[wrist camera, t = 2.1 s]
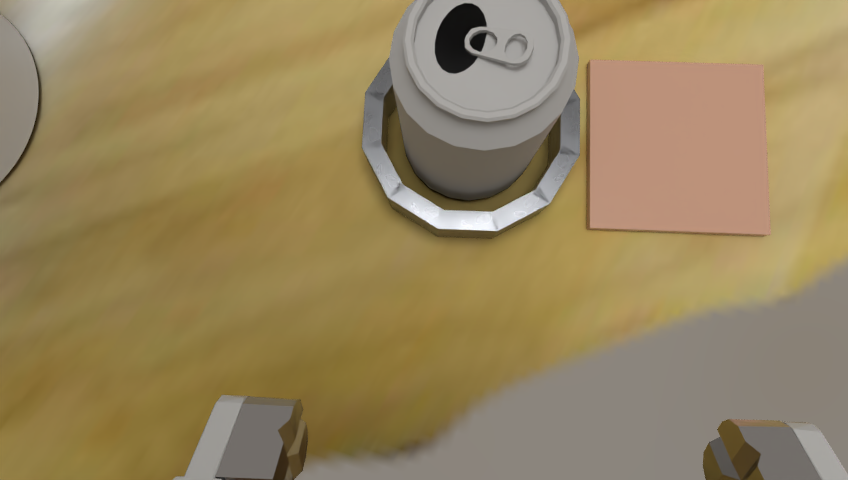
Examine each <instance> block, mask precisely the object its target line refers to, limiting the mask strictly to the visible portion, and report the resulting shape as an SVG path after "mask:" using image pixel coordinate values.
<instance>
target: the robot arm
mask: <svg viewBox="0 0 848 480" xmlns="http://www.w3.org/2000/svg"><path fill="white" fill-rule="evenodd" d="M38 97H39V88H38V77H37V72H36V67H35V64H34V60H33V57H32V55H31V52H30V50H29V48H28V46H27V44H26V42H25V41H24V39H23V37H22V36H21V35H20V33H19V32H18V31H17V29H16V28H15V27H14V26H13V25H12V24H11V23H10V22H9V21H8V20H7V19H6V18H5V17H3V16H2V15H1V14H0V182H1V181H2V180H3V179H4V178H5V176H6V175H7V174H8V173H9V172H10V170H11V169H12V168H13V166H14V165H15V164H16V162H17V161H18V159H19V158H20V156H21V154H22V152H23V151H24V149H25V147H26V145H27V143H28V140H29V138H30V135H31V133H32V130H33V127H34V123H35V119H36V114H37V109H38ZM302 411H303V407H302V404H301V400H300V399H283V398H266V397H250V396H234V395H222V396H221V397H220V398H219V399H218V401H217V402H216V403H215V405H214V408H213V410H212V412H211V415H210V417H209V419H208V422H207V424H206V426H205V429H204V431H203V434H202V436H201V438H200V441H199V443H198V445H197V448H196V450H195V452H194V455H193V457H192V459H191V462H190V464H189V466H188V469H187V471H186V473H185V476H176V477H175V478H174V479H173V480H294V479H295V478H296V477H297V476H298V475H299V474H300V473H301V472H302V471H303V467H304V462H305V458H306V451H307V442H308V435H307V426H306V423H305V422H304V421H303V420H302V419H301V415H302ZM717 430H718V432H719V434H720V437H719V438H717V439H715V440H713V441H711V442H709V444H708V445H707V447H706V449H705V451H704V457H703V469H704V474H705V478H706V480H848V474H847V473H846V471H845V469H844V468H843V466H842V464H841V463H840V461H839V460H838V458H837V456H836V455H835V453H834V452H833V450H832V449H831V447H830V445H829V444H828V442H827V441H826V439H825V437H824V436H823V434H822V433H821V432H820V430H819V429H818V428H817V427H816V426H815V425H813V424H811V423H806V422H781V421H772V420H770V421H769V420H739V419H738V420H737V419H728V420H726V421H723V422H722V423H721V425H720V426H719V427H718V429H717Z"/></svg>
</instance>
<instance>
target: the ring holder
mask: <svg viewBox="0 0 848 480" xmlns="http://www.w3.org/2000/svg"><path fill="white" fill-rule="evenodd" d="M396 106H397V104H396V99H395V94H394V89H393V83H392V76H391V70H390V63H389V58H388V60H387V61H386V63H385V64H384V66H383V67H382V68H381V70H380V71H379V73H378V74H377V76H376V77H375V79H374V80H373V82H372V83H371V85H370V86H369V88H368V89H367V91H366V92H365V108H364V124H363V141H362V149H363V151H364V153H365V155H366V157H367V160H368V162H369V164H370V166H371V167H372V169H373V171H374V173H375V175H376V177H377V179H378V181H379V183H380V185H381V187H382V188H383V190H384V192H385V194H386V196H387V198H388V200H389V202H390V204H391V206H392V208H393V209H394V210H396V211H398V212H399V213H401V214H402V215H404V216H406V217H407V218H409V219H411V220H412V221H414V222H415V223H417V224H419V225H420V226H422V227H423V228H425V229H427V230H428V231H430V232H431V233H433V234H435V235H436V236H438V237H462V238H488V239H492V238H494V237H495V236H497V235H499V234H501V233H503V232H505V231H507V230H509V229H511V228H513V227H515V226H516V225H518V224H520V223H522V222H524V221H526V220H528V219H530V218H532V217H534V216H536V215H537V214H539V213H540V212H541V211H542V210H543V209H544V208H546V207H547V206H548V205H549V204H550V202H551V201H552V199H553V197H554V196H555V194H556V192H557V191H558V189H559V188H560V186H561V184H562V183H563V181H564V179H565V178H566V176H567V175H568V173H569V171H570V170H571V168H572V166H573V165H574V163H575V162H576V160H577V158H578V157H579V155H580V99H579V97H578V95H577V94H576V92H575V90H573V92H572V94H571V96H570V98H569V100H568V102H567V104H566V106H565V108H564V110H563V112H562V113H561V115H560V116H559V118H558V119H557V121H556V122H555V124H554V126H553V127H552V129H551V130H550V132H549V149H548V166H547V168H546V169H545V171H544V173H543V174H542V176H541V178H540V179H539V181H538V182H537V184H536V186H535V187H534V189H533V190H532V192H530V193H528V194H526V195H524V196H522V197H520V198H518V199H516V200H514V201H513V202H511V203H509V204H507V205H505V206H503V207H501V208H499V209H497V210H495V211H493V212H485V211H458V210H443V209H442V208H440V207H438V206H437V205H435V204H433V203H432V202H430V201H429V200H427V199H425V198H424V197H422V196H421V195H419V194H417V193H416V192H414V191H412V190H411V189H409V188H408V187H406V186H404V185H403V184H402V182H401V180H400V178H399V176H398V174H397V172H396V171H395V169H394V167H393V165H392V163H391V161H390V159H389V157H388V155H387V138H388V119H389V116H390V115H391V113H392V112H393V110H394V109H395V107H396Z"/></svg>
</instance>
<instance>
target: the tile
mask: <svg viewBox="0 0 848 480" xmlns="http://www.w3.org/2000/svg"><path fill="white" fill-rule="evenodd" d="M587 229H590V230H616V231H642V232H668V233H695V234H721V235H747V236H767V235H771V231H770V209H769V186H768V163H767V140H766V117H765V95H764V72H763V65H753V64H719V63H685V62H651V61H616V60H590V61H589V62H588V64H587Z"/></svg>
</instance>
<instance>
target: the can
mask: <svg viewBox="0 0 848 480" xmlns="http://www.w3.org/2000/svg"><path fill="white" fill-rule="evenodd" d="M578 61H579V56H578V52H577V47H576V42H575V37H574V32H573V29H572V28H571V26H570V24H569V21H568V16H567V14H566V12H565V10H564V9H563V7H562V5H561V3H560V2H559V0H415V1H414V2H413V3H412V4H411V5H410V6H408V7H407V9H406V11H405V13H404V15H403V16H402V18H401V20H400V22H399V24H398V25H397V27H396V29H395V31H394V34H393V40H392V45H391V51H390V56H389V63H390V70H391V76H392V83H393V89H394V94H395V99H396V104H397V110H398V115H399V120H400V125H401V131H402V136H403V141H404V146H405V151H406V156H407V158H408V160H409V162H410V164H411V166H412V168H413V170H414V172H415V174H416V175H417V176H418V177H419V178H420V179H421V180H422V181H423V182H424V183H425V184H426V185H427V186H428V187H429V188H431V189H433V190H435V191H437V192H439V193H441V194H443V195H445V196H447V197H450V198H456V199H463V200H475V199H482V198H488V197H491V196H493V195H495V194H497V193H499V192H501V191H503V190H505V189H507V188H509V187H510V186H511V185H512V184H513V183H514V182H515V181H516V180H517V179H518V178H519V177H520V176H521V175H522V174H523V172H524V170H525V169H526V167H527V166H528V164H529V163H530V161H531V160H532V158H533V157H534V155H535V153H536V152H537V150H538V149H539V147H540V146H541V144H542V143H543V141H544V139H545V138H546V136H547V135H548V133H549V132H550V130H551V129H552V127H553V126H554V124H555V122H556V121H557V119H558V118H559V116H560V115H561V113H562V112H563V110H564V108H565V106H566V104H567V102H568V100H569V98H570V96H571V94H572V92H573V90H574V88H575V84H576V76H577V69H578Z"/></svg>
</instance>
